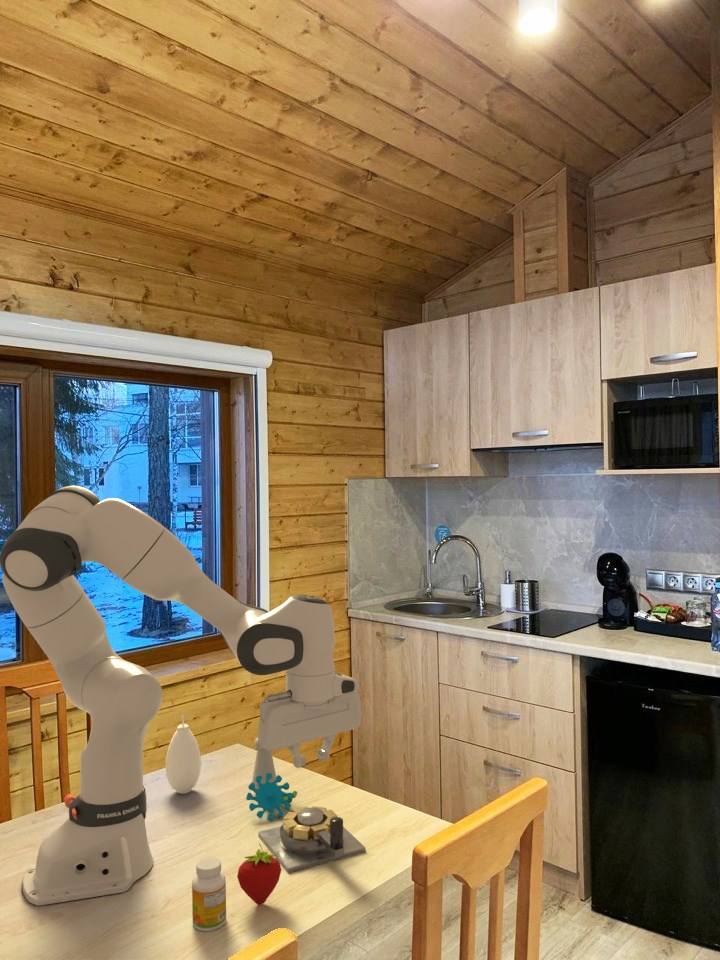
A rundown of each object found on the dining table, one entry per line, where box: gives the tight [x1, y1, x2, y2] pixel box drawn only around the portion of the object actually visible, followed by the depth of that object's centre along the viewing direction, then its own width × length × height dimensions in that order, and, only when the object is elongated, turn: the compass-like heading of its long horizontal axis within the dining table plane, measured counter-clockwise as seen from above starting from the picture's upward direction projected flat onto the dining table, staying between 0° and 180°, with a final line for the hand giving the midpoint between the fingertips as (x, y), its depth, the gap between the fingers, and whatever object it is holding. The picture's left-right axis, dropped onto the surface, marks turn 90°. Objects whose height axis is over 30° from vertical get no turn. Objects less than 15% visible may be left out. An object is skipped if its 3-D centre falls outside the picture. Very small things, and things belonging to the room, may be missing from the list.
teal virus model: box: [245, 773, 298, 821], centre depth 163 cm, size 11×6×10 cm
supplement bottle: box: [191, 856, 227, 932], centre depth 123 cm, size 5×5×10 cm
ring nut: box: [282, 805, 344, 857], centre depth 145 cm, size 10×18×6 cm, turn 27°
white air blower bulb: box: [165, 714, 202, 795], centre depth 173 cm, size 8×8×18 cm
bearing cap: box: [257, 807, 367, 873], centre depth 149 cm, size 16×16×6 cm
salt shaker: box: [251, 736, 279, 789], centre depth 172 cm, size 6×6×13 cm
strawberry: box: [236, 842, 282, 906], centre depth 128 cm, size 6×8×10 cm
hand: (311, 763), depth 135 cm, fingers open, 4 cm apart
